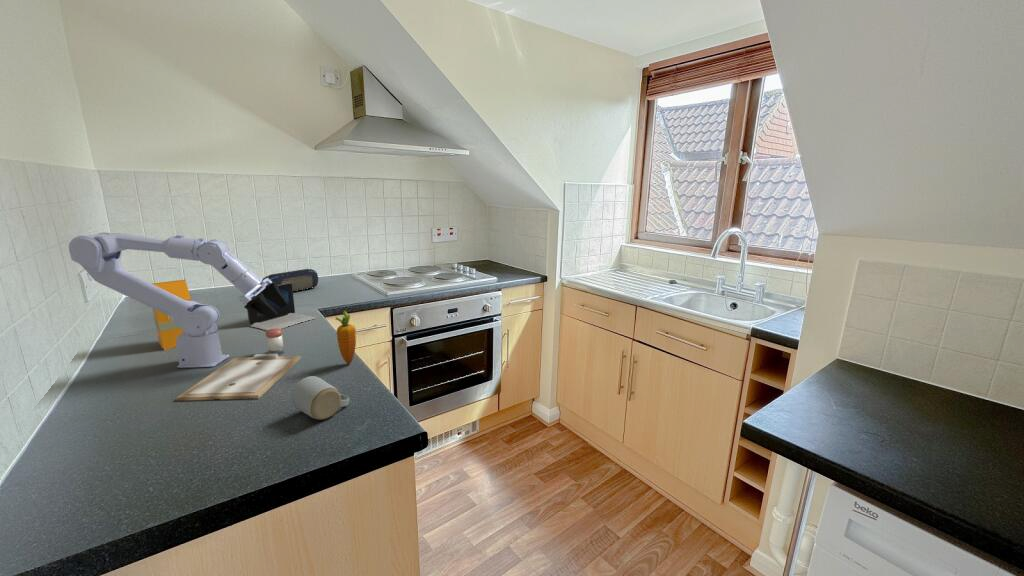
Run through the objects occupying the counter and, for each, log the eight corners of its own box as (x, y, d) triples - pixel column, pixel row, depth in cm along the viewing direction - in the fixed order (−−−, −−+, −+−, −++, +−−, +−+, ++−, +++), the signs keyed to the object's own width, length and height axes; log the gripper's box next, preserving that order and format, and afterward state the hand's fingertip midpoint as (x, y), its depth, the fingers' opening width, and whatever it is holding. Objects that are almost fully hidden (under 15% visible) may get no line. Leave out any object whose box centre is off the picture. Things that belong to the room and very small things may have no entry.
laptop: (271, 333, 144) (266, 296, 141) (249, 327, 150) (244, 291, 147) (316, 319, 160) (313, 285, 157) (294, 314, 166) (291, 282, 163)
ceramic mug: (313, 427, 87) (310, 392, 85) (292, 415, 91) (288, 382, 89) (358, 407, 95) (356, 375, 93) (336, 397, 100) (334, 366, 98)
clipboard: (177, 400, 97) (175, 393, 97) (235, 360, 120) (234, 354, 120) (258, 398, 98) (257, 391, 98) (300, 358, 122) (300, 352, 121)
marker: (265, 355, 124) (262, 333, 122) (272, 350, 128) (269, 328, 126) (280, 355, 124) (277, 332, 123) (286, 350, 128) (284, 328, 127)
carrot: (352, 368, 115) (347, 315, 112) (335, 367, 116) (330, 314, 113) (361, 361, 120) (358, 310, 117) (346, 360, 121) (341, 309, 118)
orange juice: (198, 343, 134) (188, 281, 129) (163, 350, 127) (151, 285, 123) (193, 337, 139) (183, 277, 134) (158, 344, 132) (147, 281, 128)
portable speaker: (272, 298, 189) (269, 277, 187) (260, 295, 194) (257, 274, 192) (323, 288, 209) (321, 268, 207) (311, 286, 215) (309, 266, 212)
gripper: (238, 276, 109) (280, 313, 114) (262, 260, 123) (298, 293, 128) (219, 292, 110) (261, 328, 115) (245, 274, 124) (282, 307, 128)
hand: (279, 311), depth 121 cm, fingers open, 7 cm apart
